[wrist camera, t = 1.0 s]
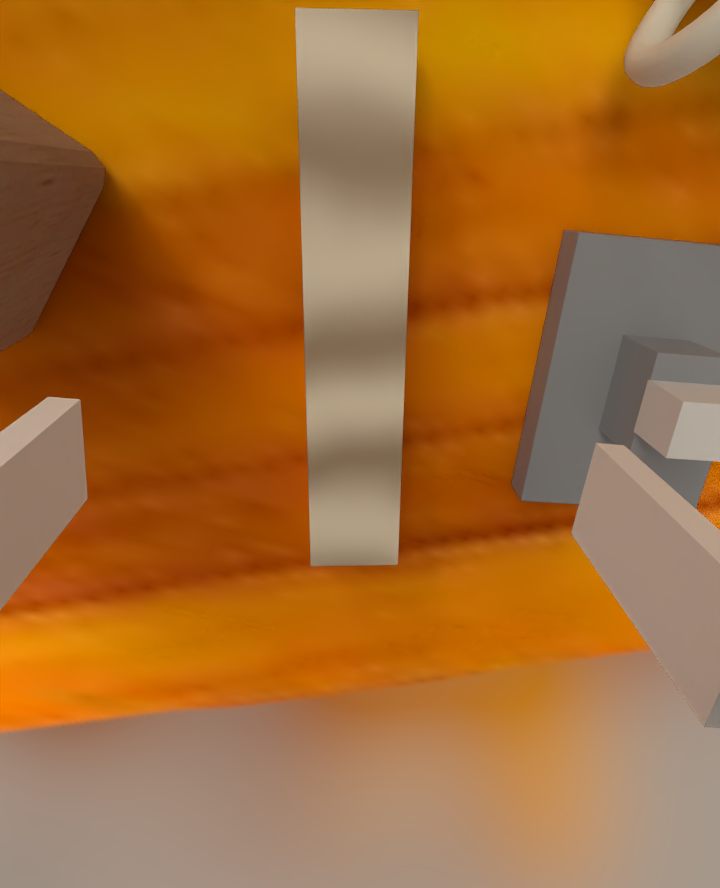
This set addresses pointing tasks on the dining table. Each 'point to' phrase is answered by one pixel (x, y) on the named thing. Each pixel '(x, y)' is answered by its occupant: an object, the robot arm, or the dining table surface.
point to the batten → (355, 271)
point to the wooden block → (38, 212)
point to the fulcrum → (625, 365)
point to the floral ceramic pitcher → (671, 43)
